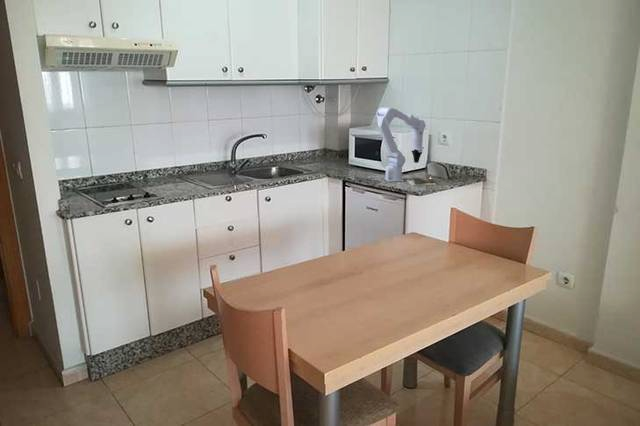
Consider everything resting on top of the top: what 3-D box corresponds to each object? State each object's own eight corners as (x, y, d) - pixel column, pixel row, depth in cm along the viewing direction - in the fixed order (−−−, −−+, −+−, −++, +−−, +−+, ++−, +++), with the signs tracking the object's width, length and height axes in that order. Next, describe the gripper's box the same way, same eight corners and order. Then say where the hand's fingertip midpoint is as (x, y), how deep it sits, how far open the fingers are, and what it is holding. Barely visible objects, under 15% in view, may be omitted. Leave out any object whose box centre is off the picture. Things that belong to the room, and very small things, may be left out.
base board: (412, 185, 275) (412, 184, 275) (406, 180, 287) (406, 179, 287) (436, 185, 277) (436, 184, 276) (429, 180, 289) (429, 179, 289)
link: (433, 181, 282) (433, 178, 281) (435, 183, 278) (435, 180, 278) (413, 181, 281) (413, 179, 281) (414, 183, 278) (414, 180, 277)
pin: (430, 179, 278) (430, 178, 278) (428, 179, 280) (429, 177, 280) (433, 179, 279) (433, 178, 278) (432, 179, 280) (432, 177, 280)
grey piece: (452, 177, 296) (449, 163, 292) (447, 181, 294) (444, 166, 290) (434, 173, 310) (430, 158, 306) (428, 176, 308) (425, 162, 304)
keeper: (415, 184, 275) (415, 179, 275) (412, 182, 281) (412, 177, 280) (421, 184, 276) (421, 179, 275) (418, 182, 281) (418, 177, 280)
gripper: (428, 141, 283) (426, 164, 287) (420, 138, 297) (419, 160, 301) (416, 141, 282) (414, 164, 286) (409, 138, 296) (407, 160, 300)
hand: (416, 162), depth 293 cm, fingers closed
